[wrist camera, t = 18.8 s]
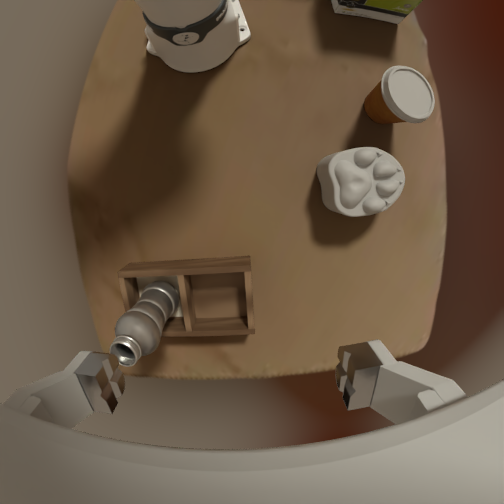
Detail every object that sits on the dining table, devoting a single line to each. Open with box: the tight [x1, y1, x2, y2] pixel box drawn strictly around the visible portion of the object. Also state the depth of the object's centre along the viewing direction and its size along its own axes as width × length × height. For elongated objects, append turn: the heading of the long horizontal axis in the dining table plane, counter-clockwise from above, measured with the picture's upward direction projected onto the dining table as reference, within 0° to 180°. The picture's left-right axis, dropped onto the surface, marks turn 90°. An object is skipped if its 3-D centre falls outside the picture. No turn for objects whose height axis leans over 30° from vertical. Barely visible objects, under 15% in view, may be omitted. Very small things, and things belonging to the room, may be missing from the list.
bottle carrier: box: [117, 256, 255, 337], centre depth 47 cm, size 12×22×6 cm, turn 93°
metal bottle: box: [110, 280, 179, 367], centre depth 40 cm, size 6×7×20 cm
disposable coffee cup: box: [364, 66, 435, 124], centre depth 37 cm, size 10×10×12 cm
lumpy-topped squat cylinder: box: [317, 147, 405, 217], centre depth 42 cm, size 10×13×9 cm
